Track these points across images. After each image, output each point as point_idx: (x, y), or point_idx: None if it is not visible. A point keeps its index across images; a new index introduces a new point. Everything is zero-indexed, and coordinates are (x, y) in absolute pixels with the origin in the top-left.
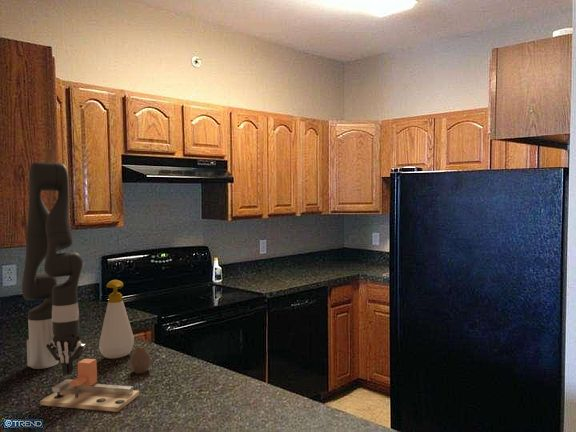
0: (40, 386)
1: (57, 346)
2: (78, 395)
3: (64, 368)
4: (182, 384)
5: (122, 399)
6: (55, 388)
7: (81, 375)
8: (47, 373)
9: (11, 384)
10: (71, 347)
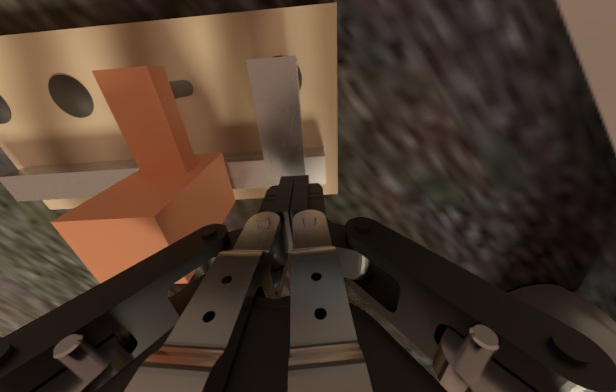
0: (453, 182)
1: (361, 352)
2: (209, 117)
3: (296, 191)
4: (38, 277)
5: (8, 128)
6: (274, 58)
7: (177, 173)
8: (483, 267)
9: (588, 172)
10: (142, 357)
